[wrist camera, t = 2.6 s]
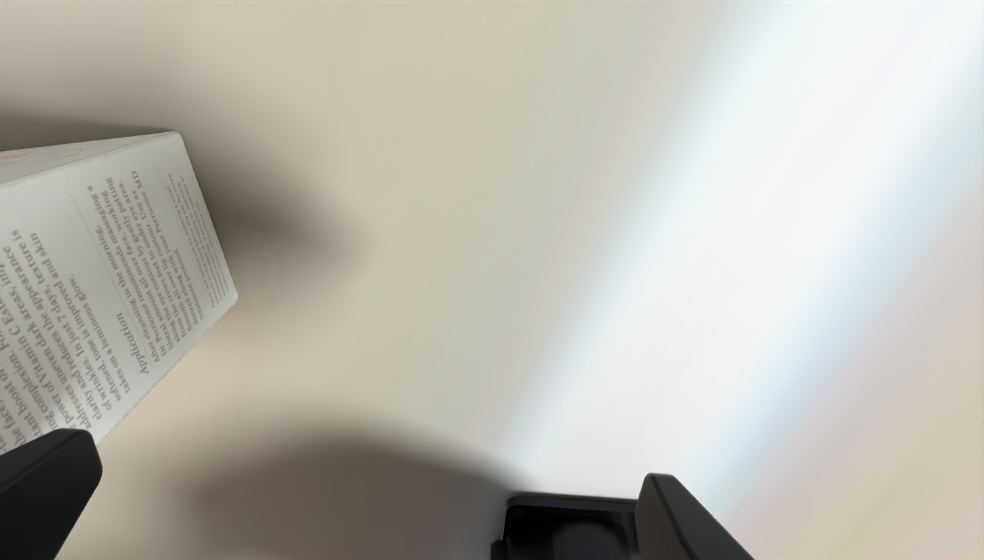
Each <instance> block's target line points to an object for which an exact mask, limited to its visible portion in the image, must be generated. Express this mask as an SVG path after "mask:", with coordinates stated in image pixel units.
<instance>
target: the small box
mask: <svg viewBox="0 0 984 560" xmlns="http://www.w3.org/2000/svg"><path fill="white" fill-rule="evenodd" d="M237 300H238V293H237V291H236V288H235V285H234V283H233V280H232V277H231V274H230V271H229V268H228V266H227V263H226V260H225V257H224V254H223V251H222V248H221V246H220V243H219V240H218V237H217V234H216V232H215V229H214V226H213V223H212V220H211V218H210V215H209V212H208V209H207V207H206V204H205V201H204V198H203V195H202V193H201V190H200V187H199V184H198V181H197V179H196V176H195V173H194V170H193V168H192V165H191V162H190V159H189V156H188V154H187V151H186V148H185V145H184V142H183V139H182V137H181V135H180V134H179V133H178V132H176V131H170V132H163V133H157V134H148V135H139V136H130V137H122V138H113V139H104V140H95V141H87V142H78V143H69V144H61V145H52V146H44V147H35V148H26V149H17V150H9V151H0V455H2V454H4V453H6V452H8V451H10V450H12V449H14V448H17V447H19V446H21V445H23V444H25V443H27V442H29V441H32V440H34V439H36V438H38V437H40V436H42V435H44V434H46V433H49V432H51V431H53V430H55V429H59V428H73V429H84V430H88V431H89V432H90V433H91V434H92V436H93V439H94V442H95V445H96V447H97V446H98V445H99V444H100V443H101V442H102V441H103V440H104V439H105V438H106V437H107V436H108V435H109V434H110V433H111V431H112V430H113V429H114V428H115V427H116V426H117V425H118V424H119V423H120V422H121V421H122V420H123V419H124V418H125V417H126V416H127V415H128V414H129V413H130V411H131V410H132V409H133V408H134V407H135V406H136V405H137V404H138V403H139V402H140V401H141V400H142V399H143V398H144V397H145V396H146V395H147V394H148V393H149V392H150V391H151V390H152V389H153V388H154V387H155V386H156V385H157V384H158V383H159V382H160V381H161V380H162V379H163V378H164V377H165V376H166V374H167V373H168V372H169V371H170V370H171V369H172V368H173V367H174V366H175V365H176V364H177V363H178V362H179V361H180V360H181V359H182V358H183V357H184V356H185V355H186V354H187V353H188V352H189V350H190V349H191V348H192V347H193V346H194V345H195V344H196V343H197V342H198V341H199V340H200V339H201V338H202V337H203V336H204V335H205V334H206V333H207V332H208V331H209V330H210V329H211V328H212V327H213V325H214V324H215V323H216V322H217V321H218V320H219V319H220V318H221V317H222V316H223V315H224V314H225V313H226V312H227V311H228V310H229V309H230V308H231V307H232V306H233V305H234V304H235V303H236V302H237Z"/></svg>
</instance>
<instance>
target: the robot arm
mask: <svg viewBox="0 0 984 560" xmlns="http://www.w3.org/2000/svg"><path fill="white" fill-rule="evenodd" d="M102 472H103V467H102V463H101V460H100V457H99V454H98V451H97V448H96V445H95V442H94V439H93V436H92V434H91V433H90V432H89V431H88V430H84V429H73V428H59V429H55V430H53V431H51V432H49V433H46V434H44V435H42V436H40V437H38V438H36V439H34V440H32V441H29V442H27V443H25V444H23V445H21V446H19V447H17V448H14V449H12V450H10V451H8V452H6V453H4V454H2V455H0V560H54V559H55V558H56V556H57V554H58V552H59V551H60V549H61V547H62V546H63V544H64V542H65V540H66V539H67V537H68V535H69V534H70V532H71V530H72V529H73V527H74V525H75V523H76V522H77V520H78V518H79V517H80V515H81V513H82V511H83V510H84V508H85V506H86V505H87V503H88V501H89V499H90V498H91V496H92V494H93V493H94V491H95V489H96V487H97V486H98V484H99V482H100V479H101V477H102ZM517 509H519V510H517ZM489 560H754V559H753V557H752V556H751V555H750V554H749V553H748V552H747V551H746V550H745V549H744V548H743V547H742V546H741V545H740V544H739V543H738V542H737V541H736V540H735V539H734V538H733V537H732V536H731V535H730V534H729V533H728V531H727V530H726V529H725V528H724V527H723V526H722V525H721V524H720V523H719V522H718V521H717V520H716V519H715V518H714V517H713V516H712V515H711V514H710V513H709V512H708V511H707V510H706V509H705V508H704V507H703V505H702V504H701V503H700V502H699V501H698V500H697V499H696V498H695V497H694V496H693V495H692V494H691V493H690V492H689V491H688V490H687V489H686V488H685V487H684V486H683V485H682V484H681V483H680V482H679V481H678V479H677V478H675V477H674V476H672V475H670V474H660V473H648V474H647V475H646V476H645V478H644V481H643V485H642V488H641V491H640V495H639V498H638V501H637V505H634V504H621V503H607V502H593V501H579V500H565V499H552V498H538V497H524V496H515V497H512V498H510V499H509V500H508V501H507V503H506V507H505V514H504V522H503V529H502V537H501V539H495V540H494V541H493V542H492V543H491V544H490V552H489Z"/></svg>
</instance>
